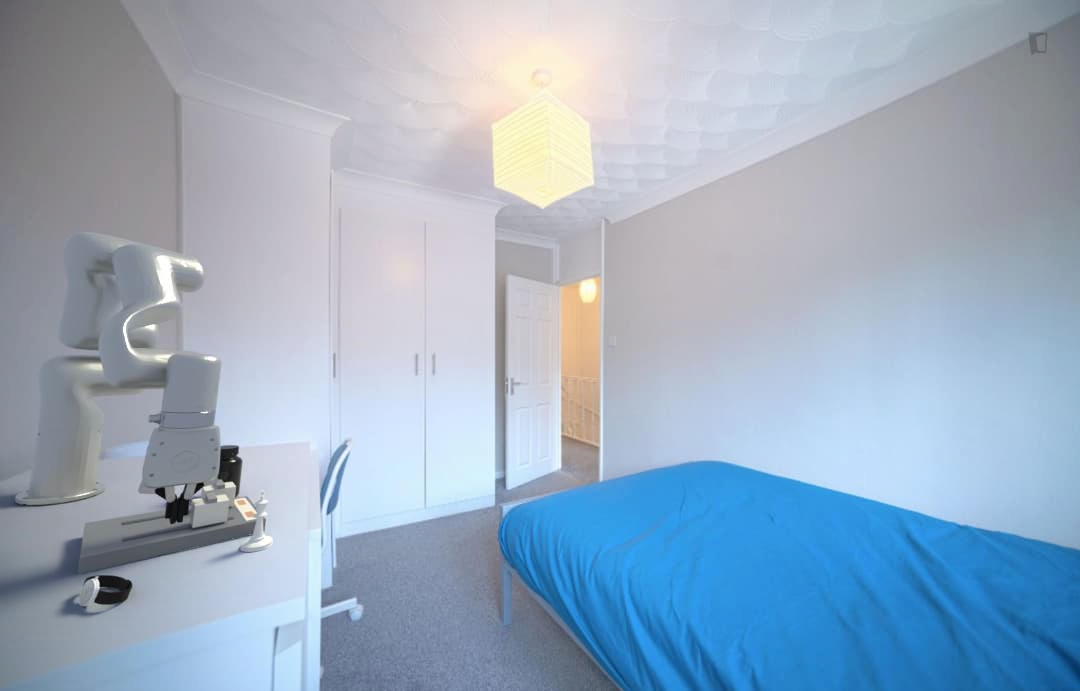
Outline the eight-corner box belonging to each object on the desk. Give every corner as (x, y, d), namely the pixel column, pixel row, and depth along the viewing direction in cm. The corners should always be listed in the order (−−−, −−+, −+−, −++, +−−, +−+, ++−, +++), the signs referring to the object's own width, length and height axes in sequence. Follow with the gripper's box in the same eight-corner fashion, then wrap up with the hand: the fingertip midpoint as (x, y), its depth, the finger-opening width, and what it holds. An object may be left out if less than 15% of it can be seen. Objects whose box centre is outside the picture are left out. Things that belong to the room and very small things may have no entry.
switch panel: (83, 537, 70) (85, 522, 70) (245, 507, 87) (247, 495, 88) (77, 574, 59) (80, 556, 59) (264, 531, 77) (265, 518, 77)
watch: (67, 599, 54) (71, 573, 54) (115, 582, 58) (118, 558, 58) (93, 617, 51) (97, 589, 51) (141, 598, 55) (144, 572, 55)
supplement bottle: (246, 494, 95) (251, 445, 95) (220, 504, 88) (226, 451, 89) (221, 491, 96) (226, 442, 96) (193, 500, 89) (200, 448, 89)
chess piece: (237, 554, 68) (243, 497, 68) (243, 541, 72) (249, 488, 73) (270, 549, 70) (276, 494, 71) (274, 538, 75) (280, 486, 75)
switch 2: (189, 520, 73) (192, 495, 73) (222, 514, 77) (225, 490, 77) (192, 528, 70) (195, 501, 70) (227, 521, 74) (230, 496, 74)
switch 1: (199, 505, 80) (202, 481, 80) (229, 500, 84) (232, 477, 84) (202, 511, 77) (205, 487, 77) (234, 505, 81) (236, 482, 81)
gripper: (129, 426, 63) (114, 540, 62) (242, 420, 74) (231, 517, 73) (128, 419, 68) (115, 524, 67) (234, 415, 79) (224, 505, 78)
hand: (175, 520), depth 70 cm, fingers closed
